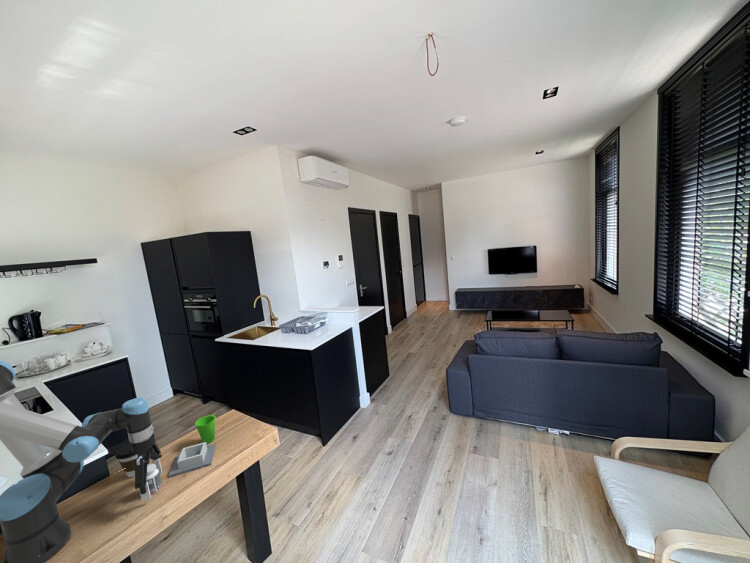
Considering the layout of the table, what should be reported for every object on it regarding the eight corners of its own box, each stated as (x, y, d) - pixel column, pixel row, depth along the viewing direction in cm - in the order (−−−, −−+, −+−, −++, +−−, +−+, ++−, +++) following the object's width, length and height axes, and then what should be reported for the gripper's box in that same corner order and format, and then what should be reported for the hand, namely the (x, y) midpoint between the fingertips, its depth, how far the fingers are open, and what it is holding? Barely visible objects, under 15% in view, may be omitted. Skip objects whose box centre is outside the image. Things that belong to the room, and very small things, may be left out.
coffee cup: (154, 469, 132) (149, 444, 130) (123, 486, 124) (116, 459, 122) (148, 459, 139) (143, 435, 138) (118, 474, 131) (112, 449, 130)
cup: (195, 443, 148) (191, 422, 146) (213, 432, 155) (209, 413, 154) (204, 449, 143) (200, 428, 141) (222, 438, 150) (219, 417, 148)
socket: (168, 477, 126) (166, 468, 126) (177, 456, 139) (176, 447, 139) (211, 465, 131) (209, 455, 131) (216, 445, 145) (214, 437, 144)
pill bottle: (157, 482, 124) (152, 461, 123) (165, 486, 122) (160, 464, 120) (141, 493, 119) (136, 471, 118) (149, 498, 116) (144, 475, 115)
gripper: (141, 455, 107) (152, 507, 110) (163, 418, 130) (172, 462, 133) (115, 462, 104) (128, 515, 107) (142, 423, 127) (152, 468, 130)
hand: (152, 486), depth 120 cm, fingers open, 13 cm apart
